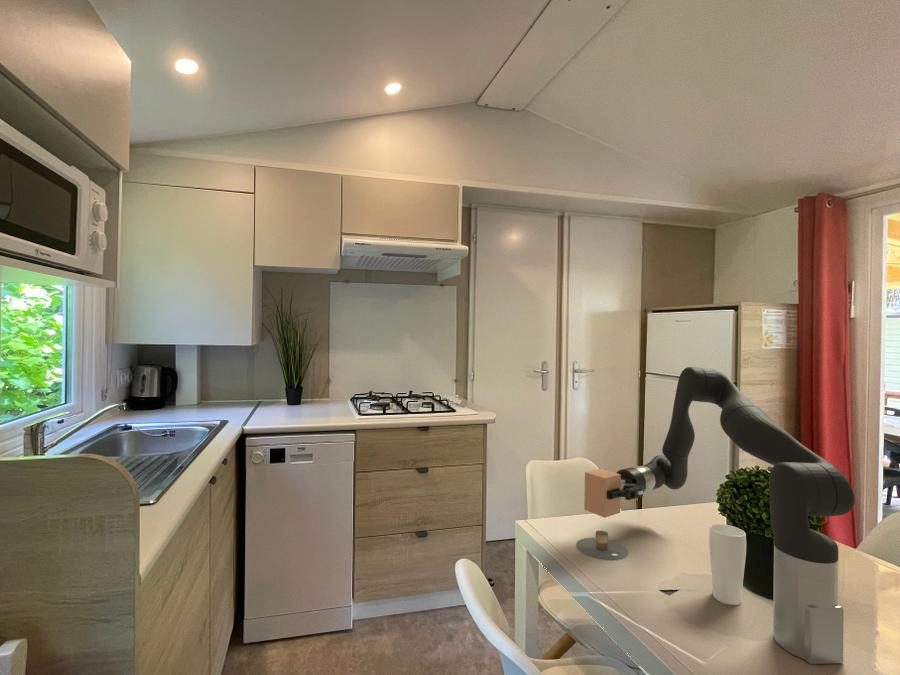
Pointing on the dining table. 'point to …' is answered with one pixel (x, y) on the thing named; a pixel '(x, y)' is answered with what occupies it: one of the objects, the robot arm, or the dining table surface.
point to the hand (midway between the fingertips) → (596, 491)
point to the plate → (612, 553)
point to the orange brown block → (601, 492)
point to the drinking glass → (727, 562)
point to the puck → (602, 540)
